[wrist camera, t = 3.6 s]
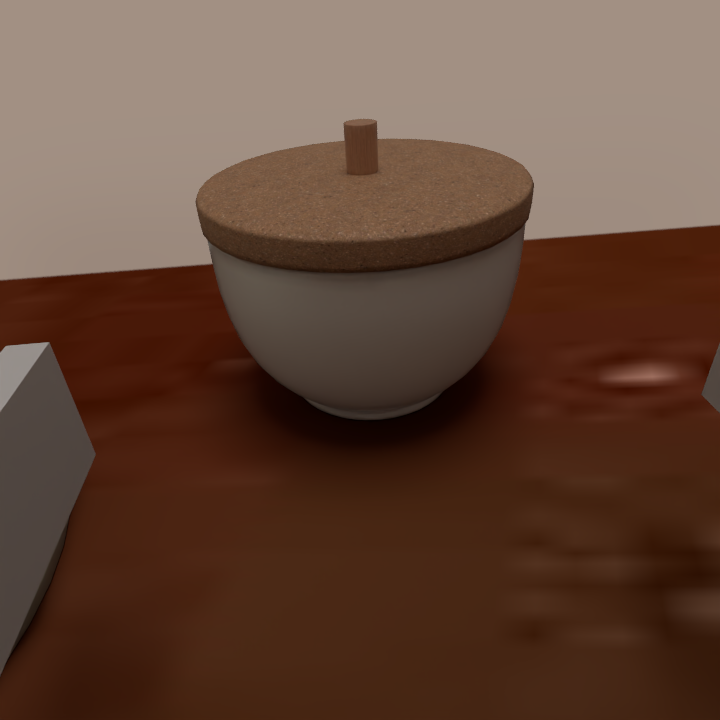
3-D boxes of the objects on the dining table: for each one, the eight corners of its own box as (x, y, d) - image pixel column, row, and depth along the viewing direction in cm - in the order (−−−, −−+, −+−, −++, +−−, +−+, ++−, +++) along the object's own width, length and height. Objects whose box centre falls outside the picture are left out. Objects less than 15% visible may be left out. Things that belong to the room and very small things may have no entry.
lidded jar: (177, 406, 21) (102, 148, 16) (335, 291, 29) (317, 88, 24) (437, 514, 16) (449, 190, 11) (545, 341, 24) (582, 98, 19)
